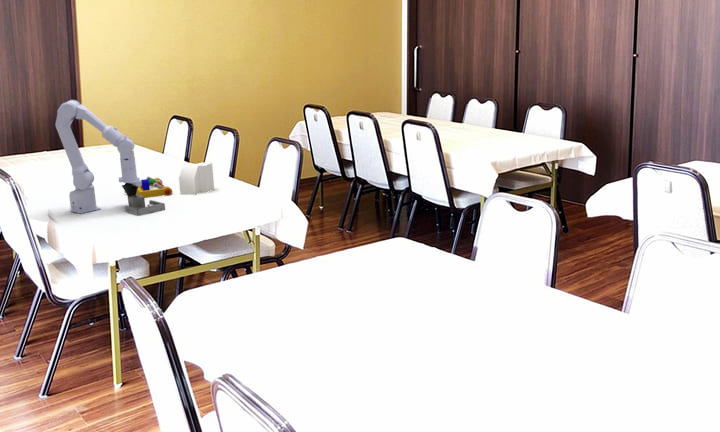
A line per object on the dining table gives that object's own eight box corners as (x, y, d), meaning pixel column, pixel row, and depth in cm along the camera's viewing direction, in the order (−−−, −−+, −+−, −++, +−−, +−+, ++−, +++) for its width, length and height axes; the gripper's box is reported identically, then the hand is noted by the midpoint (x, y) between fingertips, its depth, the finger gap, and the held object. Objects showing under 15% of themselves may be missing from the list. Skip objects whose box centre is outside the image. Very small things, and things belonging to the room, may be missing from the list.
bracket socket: (139, 215, 304) (138, 208, 303) (125, 211, 311) (124, 204, 310) (166, 209, 312) (165, 202, 311) (151, 205, 319) (151, 198, 318)
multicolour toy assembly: (158, 170, 363) (172, 182, 336) (159, 183, 364) (173, 196, 338) (117, 175, 355) (128, 187, 329) (119, 188, 357) (130, 201, 331)
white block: (214, 189, 346) (212, 162, 343) (202, 195, 336) (200, 167, 333) (192, 188, 349) (190, 162, 346) (180, 194, 339) (177, 167, 336)
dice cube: (133, 210, 312) (132, 198, 311) (128, 208, 316) (127, 196, 315) (145, 208, 315) (144, 196, 314) (140, 206, 319) (139, 194, 318)
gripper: (146, 168, 312) (150, 201, 316) (128, 165, 322) (131, 197, 325) (131, 171, 307) (134, 205, 311) (112, 167, 317) (116, 200, 321)
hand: (132, 201), depth 318 cm, fingers closed
